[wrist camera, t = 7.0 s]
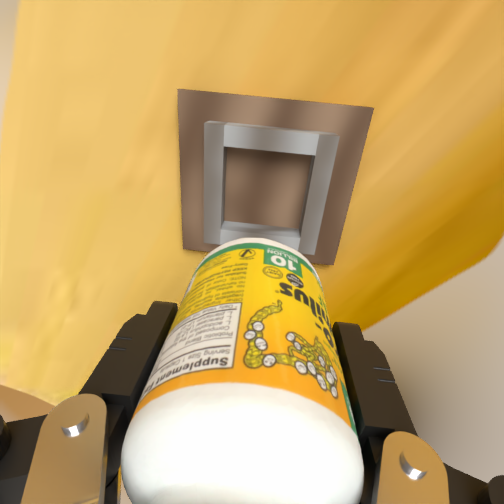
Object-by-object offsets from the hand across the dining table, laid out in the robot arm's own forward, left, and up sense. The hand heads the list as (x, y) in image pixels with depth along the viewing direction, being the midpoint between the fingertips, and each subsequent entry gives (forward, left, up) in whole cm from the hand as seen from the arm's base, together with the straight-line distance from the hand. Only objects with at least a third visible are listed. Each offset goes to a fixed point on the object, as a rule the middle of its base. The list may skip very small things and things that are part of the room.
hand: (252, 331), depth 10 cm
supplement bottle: (0, 0, -3) cm, 3 cm away
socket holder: (0, 0, -19) cm, 19 cm away
